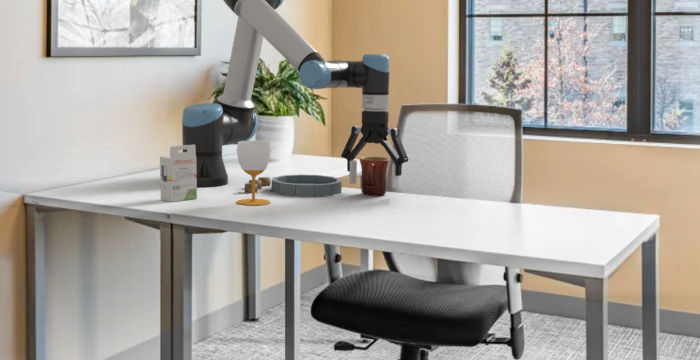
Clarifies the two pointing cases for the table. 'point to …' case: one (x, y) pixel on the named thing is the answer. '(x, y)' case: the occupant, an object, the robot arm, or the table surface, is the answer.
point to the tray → (306, 185)
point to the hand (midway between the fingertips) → (373, 185)
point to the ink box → (178, 174)
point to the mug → (374, 175)
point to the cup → (253, 165)
